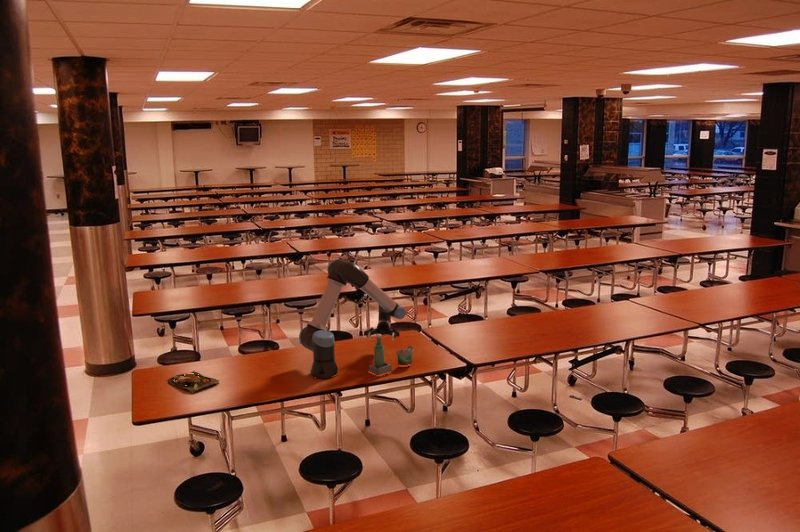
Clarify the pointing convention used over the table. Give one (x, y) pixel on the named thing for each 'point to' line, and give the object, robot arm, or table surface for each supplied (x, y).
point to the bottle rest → (380, 369)
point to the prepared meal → (192, 381)
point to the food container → (405, 356)
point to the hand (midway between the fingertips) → (380, 338)
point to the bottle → (378, 352)
